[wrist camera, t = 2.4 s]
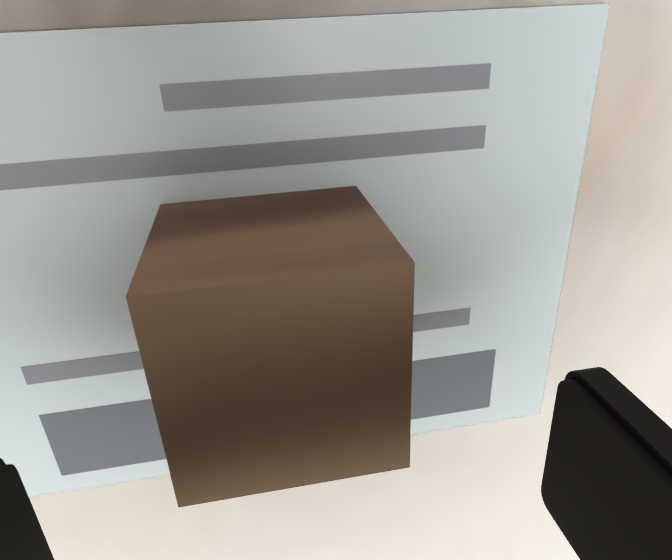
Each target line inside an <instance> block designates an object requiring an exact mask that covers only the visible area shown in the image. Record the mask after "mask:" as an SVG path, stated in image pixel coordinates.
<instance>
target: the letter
mask: <svg viewBox="0 0 672 560" xmlns="http://www.w3.org/2000/svg"><path fill="white" fill-rule="evenodd" d="M609 7H610V3H607V4H586V5H565V6H545V7H524V8H503V9H483V10H462V11H441V12H421V13H400V14H379V15H359V16H338V17H318V18H297V19H276V20H256V21H235V22H214V23H194V24H173V25H152V26H132V27H111V28H91V29H70V30H49V31H29V32H8V33H0V458H1V459H3V460H4V462H5V464H6V465H7V464H13V465H14V466H15V467H16V468H17V470H18V472H19V475H20V477H21V480H22V482H23V485H24V487H25V490H26V492H27V495H28V497H29V498H31V497H37V496H43V495H49V494H56V493H62V492H68V491H74V490H80V489H86V488H92V487H98V486H104V485H110V484H116V483H122V482H128V481H134V480H140V479H147V478H153V477H159V476H165V475H170V471H169V467H168V463H167V459H166V455H165V451H164V447H163V443H162V439H161V435H160V431H159V427H158V423H157V419H156V416H155V412H154V408H153V404H152V400H151V396H150V392H149V388H148V384H147V380H146V376H145V372H144V368H143V364H142V360H141V356H140V352H139V348H138V344H137V340H136V336H135V332H134V328H133V324H132V320H131V316H130V312H129V308H128V304H127V300H126V294H127V292H128V289H129V286H130V284H131V281H132V278H133V276H134V273H135V270H136V268H137V265H138V262H139V260H140V257H141V254H142V252H143V249H144V246H145V244H146V241H147V238H148V236H149V233H150V230H151V228H152V225H153V222H154V220H155V217H156V214H157V212H158V209H159V206H160V204H168V203H179V202H189V201H200V200H210V199H221V198H231V197H242V196H253V195H263V194H274V193H284V192H295V191H305V190H316V189H326V188H337V187H348V186H357V188H358V189H359V190H360V192H361V193H362V194H363V196H364V197H365V198H366V199H367V201H368V202H369V203H370V205H371V206H372V207H373V209H374V210H375V211H376V212H377V214H378V215H379V216H380V218H381V219H382V220H383V222H384V223H385V224H386V226H387V227H388V228H389V229H390V231H391V232H392V233H393V235H394V236H395V237H396V239H397V240H398V241H399V243H400V244H401V245H402V246H403V248H404V249H405V250H406V252H407V253H408V254H409V256H410V257H411V258H412V260H413V261H414V262H415V278H414V316H413V354H412V392H411V430H410V435H413V434H419V433H425V432H432V431H438V430H444V429H450V428H456V427H462V426H468V425H474V424H480V423H486V422H492V421H498V420H504V419H510V418H516V417H522V416H529V415H535V414H540V411H541V406H542V400H543V394H544V388H545V382H546V376H547V370H548V364H549V359H550V353H551V347H552V341H553V335H554V329H555V323H556V318H557V312H558V306H559V300H560V294H561V288H562V282H563V276H564V271H565V265H566V259H567V253H568V247H569V241H570V235H571V230H572V224H573V218H574V212H575V206H576V200H577V194H578V189H579V183H580V177H581V171H582V165H583V159H584V153H585V147H586V142H587V136H588V130H589V124H590V118H591V112H592V106H593V101H594V95H595V89H596V83H597V77H598V71H599V65H600V59H601V54H602V48H603V42H604V36H605V30H606V24H607V18H608V13H609Z"/></svg>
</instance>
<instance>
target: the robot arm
mask: <svg viewBox="0 0 672 560" xmlns="http://www.w3.org/2000/svg"><path fill="white" fill-rule="evenodd" d="M541 493H542V498H543V501H544V504H545V506H546V508H547V509H548V511H549V513H550V514H551V516H552V517H553V519H554V520H555V522H556V523H557V525H558V526H559V528H560V529H561V531H562V532H563V534H564V535H565V537H566V539H567V540H568V542H569V543H570V545H571V546H572V548H573V549H574V551H575V552H576V554H577V555H578V557H579V558H580V560H672V429H671V428H670V427H669V426H668V425H667V424H666V423H665V422H664V421H663V420H661V419H660V418H659V417H658V416H657V415H656V414H655V413H654V412H653V411H652V410H650V409H649V408H648V407H647V406H646V405H645V404H644V403H643V402H642V401H640V400H639V399H638V398H637V397H636V396H635V395H634V394H633V393H632V392H631V391H629V390H628V389H627V388H626V387H625V386H624V385H623V384H622V383H621V382H620V381H618V380H617V379H616V378H615V377H614V376H613V375H612V374H611V373H610V372H609V371H607V370H606V369H604V368H601V367H596V368H590V369H583V370H576V371H571V372H569V373H568V374H567V375H566V377H565V380H564V381H561V382H560V383H559V385H558V388H557V394H556V400H555V406H554V412H553V418H552V424H551V431H550V437H549V443H548V449H547V455H546V461H545V467H544V473H543V479H542V485H541ZM0 560H54V558H53V556H52V553H51V551H50V548H49V546H48V543H47V541H46V539H45V536H44V534H43V531H42V529H41V526H40V524H39V521H38V519H37V517H36V514H35V512H34V509H33V507H32V504H31V502H30V499H29V497H28V495H27V492H26V490H25V487H24V485H23V482H22V480H21V477H20V475H19V472H18V470H17V468H16V467H15V466H14V465H13V464H7V465H6V464H5V462H4V460H3V459H1V458H0Z"/></svg>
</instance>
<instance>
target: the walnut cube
mask: <svg viewBox="0 0 672 560" xmlns="http://www.w3.org/2000/svg"><path fill="white" fill-rule="evenodd" d="M414 278H415V262H414V261H413V260H412V258H411V257H410V256H409V254H408V253H407V252H406V250H405V249H404V248H403V246H402V245H401V244H400V243H399V241H398V240H397V239H396V237H395V236H394V235H393V233H392V232H391V231H390V229H389V228H388V227H387V226H386V224H385V223H384V222H383V220H382V219H381V218H380V216H379V215H378V214H377V212H376V211H375V210H374V209H373V207H372V206H371V205H370V203H369V202H368V201H367V199H366V198H365V197H364V196H363V194H362V193H361V192H360V190H359V189H358V188H357V186H348V187H337V188H326V189H316V190H305V191H295V192H284V193H274V194H263V195H253V196H242V197H231V198H221V199H210V200H200V201H189V202H179V203H168V204H160V206H159V209H158V212H157V214H156V217H155V220H154V222H153V225H152V228H151V230H150V233H149V236H148V238H147V241H146V244H145V246H144V249H143V252H142V254H141V257H140V260H139V262H138V265H137V268H136V270H135V273H134V276H133V278H132V281H131V284H130V286H129V289H128V292H127V294H126V300H127V304H128V308H129V312H130V316H131V320H132V324H133V328H134V332H135V336H136V340H137V344H138V348H139V352H140V356H141V360H142V364H143V368H144V372H145V376H146V380H147V384H148V388H149V392H150V396H151V400H152V404H153V408H154V412H155V416H156V419H157V423H158V427H159V431H160V435H161V439H162V443H163V447H164V451H165V455H166V459H167V463H168V467H169V471H170V475H171V479H172V483H173V487H174V491H175V495H176V499H177V503H178V507H183V506H189V505H195V504H201V503H206V502H212V501H218V500H224V499H229V498H235V497H241V496H247V495H252V494H258V493H264V492H270V491H275V490H281V489H287V488H293V487H298V486H304V485H310V484H316V483H322V482H327V481H333V480H339V479H345V478H350V477H356V476H362V475H368V474H373V473H379V472H385V471H391V470H396V469H402V468H408V467H410V430H411V392H412V354H413V316H414Z"/></svg>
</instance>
